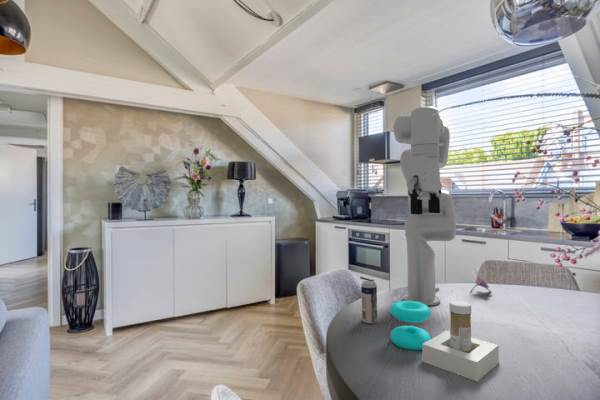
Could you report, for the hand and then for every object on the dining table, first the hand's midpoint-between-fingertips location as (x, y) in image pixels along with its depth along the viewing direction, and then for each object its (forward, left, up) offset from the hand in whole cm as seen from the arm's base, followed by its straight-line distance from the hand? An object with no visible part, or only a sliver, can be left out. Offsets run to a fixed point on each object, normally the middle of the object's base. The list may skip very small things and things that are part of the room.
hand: (425, 213), depth 96 cm
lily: (-52, -5, -34) cm, 62 cm away
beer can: (+5, -16, -34) cm, 37 cm away
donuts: (+10, +1, -34) cm, 35 cm away
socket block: (+11, +14, -33) cm, 38 cm away
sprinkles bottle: (+11, +14, -34) cm, 38 cm away
